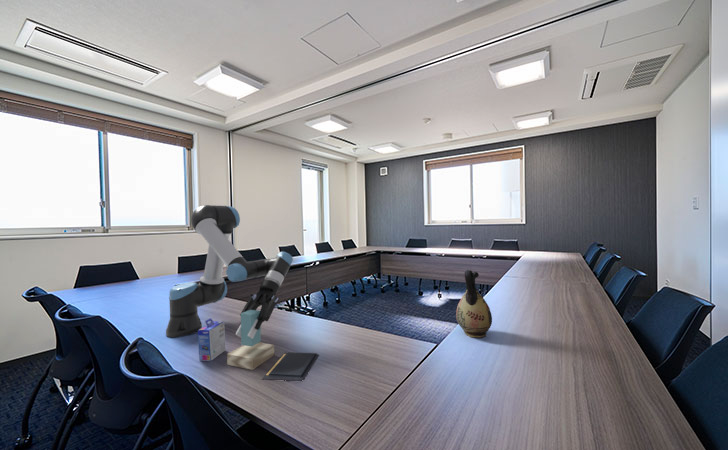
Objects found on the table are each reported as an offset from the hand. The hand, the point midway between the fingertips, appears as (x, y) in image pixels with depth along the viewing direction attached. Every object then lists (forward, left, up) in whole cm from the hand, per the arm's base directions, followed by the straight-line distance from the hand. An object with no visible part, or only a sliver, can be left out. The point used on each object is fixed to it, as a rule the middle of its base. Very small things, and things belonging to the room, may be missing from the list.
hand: (244, 336), depth 105 cm
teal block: (0, +4, -4) cm, 5 cm away
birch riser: (0, +4, -11) cm, 11 cm away
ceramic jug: (+81, +55, -11) cm, 99 cm away
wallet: (+18, +5, -11) cm, 22 cm away
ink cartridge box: (-18, +2, -11) cm, 21 cm away
